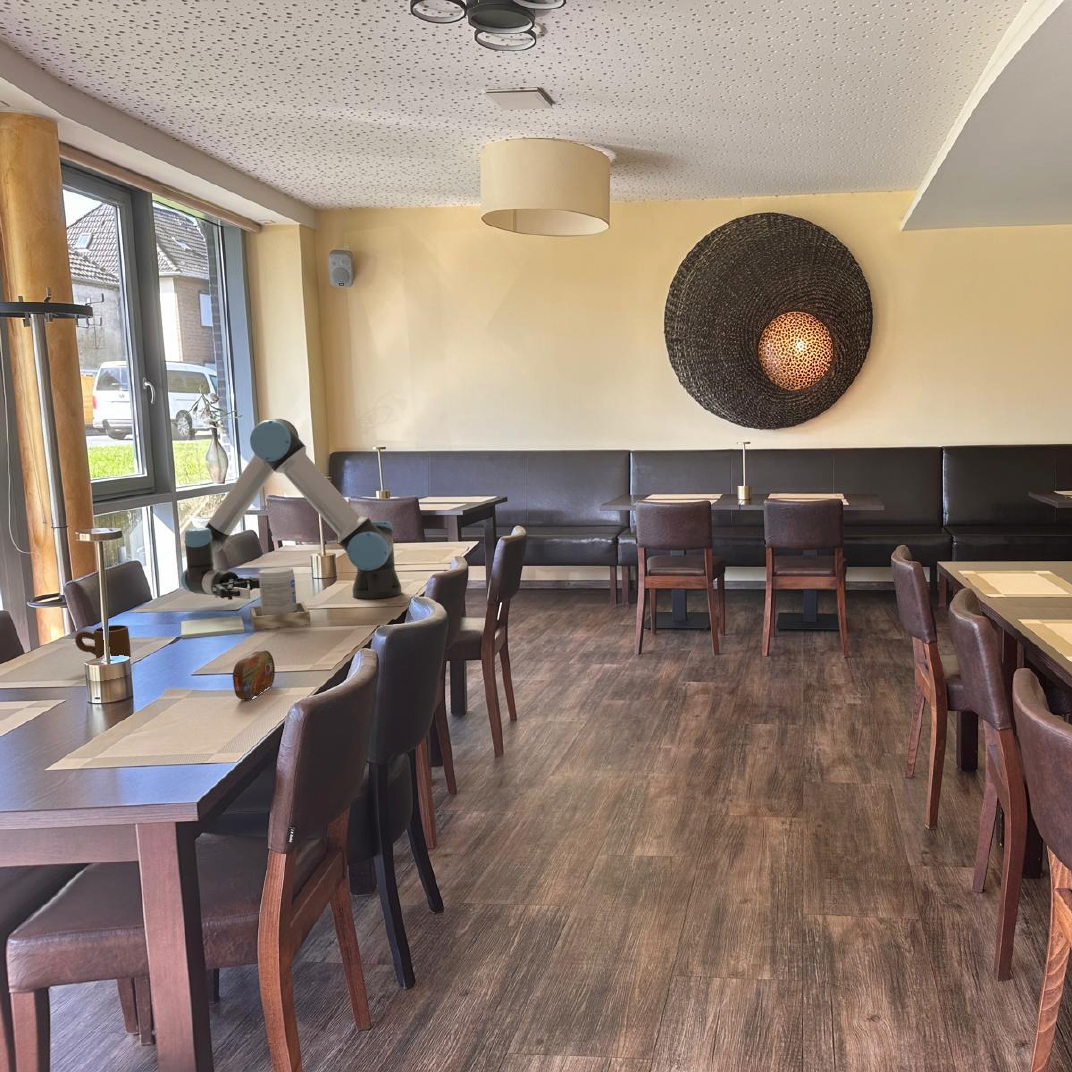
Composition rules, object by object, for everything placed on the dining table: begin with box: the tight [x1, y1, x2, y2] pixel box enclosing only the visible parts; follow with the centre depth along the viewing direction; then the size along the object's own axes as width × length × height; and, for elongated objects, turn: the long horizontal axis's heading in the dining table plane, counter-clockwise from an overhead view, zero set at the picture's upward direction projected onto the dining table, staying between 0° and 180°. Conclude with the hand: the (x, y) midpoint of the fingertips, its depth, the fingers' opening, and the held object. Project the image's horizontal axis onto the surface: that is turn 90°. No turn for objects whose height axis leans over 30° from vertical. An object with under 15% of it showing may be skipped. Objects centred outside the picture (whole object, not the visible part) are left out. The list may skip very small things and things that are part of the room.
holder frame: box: [249, 601, 311, 630], centre depth 286 cm, size 15×15×4 cm
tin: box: [232, 650, 276, 701], centre depth 215 cm, size 15×3×8 cm, turn 170°
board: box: [180, 615, 245, 640], centre depth 280 cm, size 16×18×1 cm
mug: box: [74, 624, 132, 660], centre depth 241 cm, size 12×8×9 cm, turn 97°
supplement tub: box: [258, 567, 297, 616], centre depth 285 cm, size 10×10×15 cm
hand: (269, 589), depth 286 cm, fingers open, 13 cm apart
